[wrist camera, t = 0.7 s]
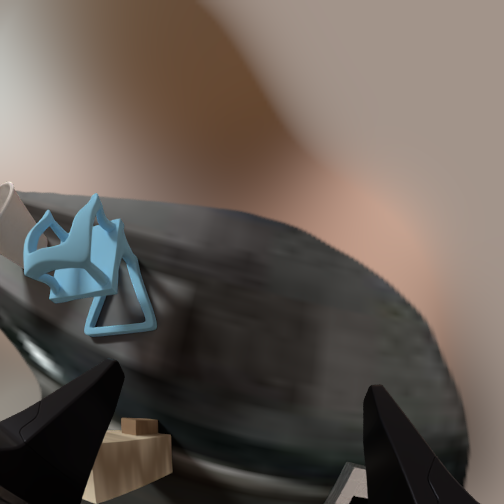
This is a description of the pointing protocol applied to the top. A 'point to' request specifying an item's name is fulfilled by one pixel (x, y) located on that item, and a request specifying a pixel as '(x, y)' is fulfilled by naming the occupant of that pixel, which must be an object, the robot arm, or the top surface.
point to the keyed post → (129, 460)
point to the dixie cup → (15, 225)
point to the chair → (87, 265)
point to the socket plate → (349, 485)
